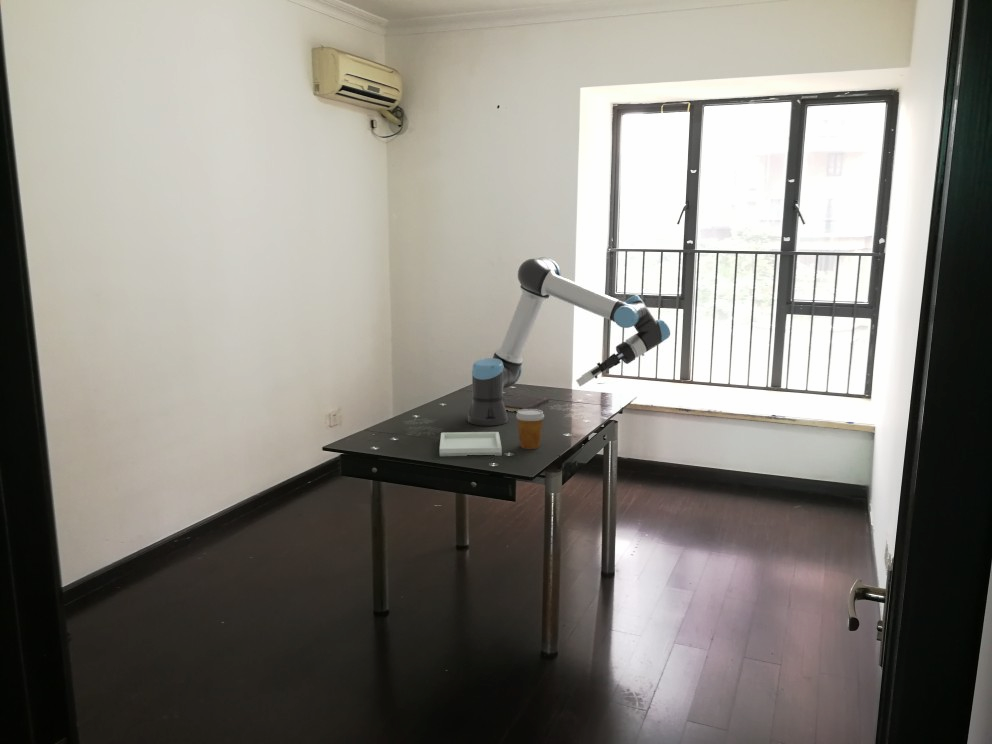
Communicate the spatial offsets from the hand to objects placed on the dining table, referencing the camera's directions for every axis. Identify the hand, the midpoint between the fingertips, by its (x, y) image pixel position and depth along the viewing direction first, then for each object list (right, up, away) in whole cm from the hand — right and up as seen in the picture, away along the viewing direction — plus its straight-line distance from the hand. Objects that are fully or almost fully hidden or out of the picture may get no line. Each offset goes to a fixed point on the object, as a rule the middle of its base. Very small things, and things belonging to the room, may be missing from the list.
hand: (580, 381), depth 266 cm
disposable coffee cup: (-19, -22, -13) cm, 32 cm away
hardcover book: (-20, -11, +48) cm, 53 cm away
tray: (-39, -22, -14) cm, 47 cm away
